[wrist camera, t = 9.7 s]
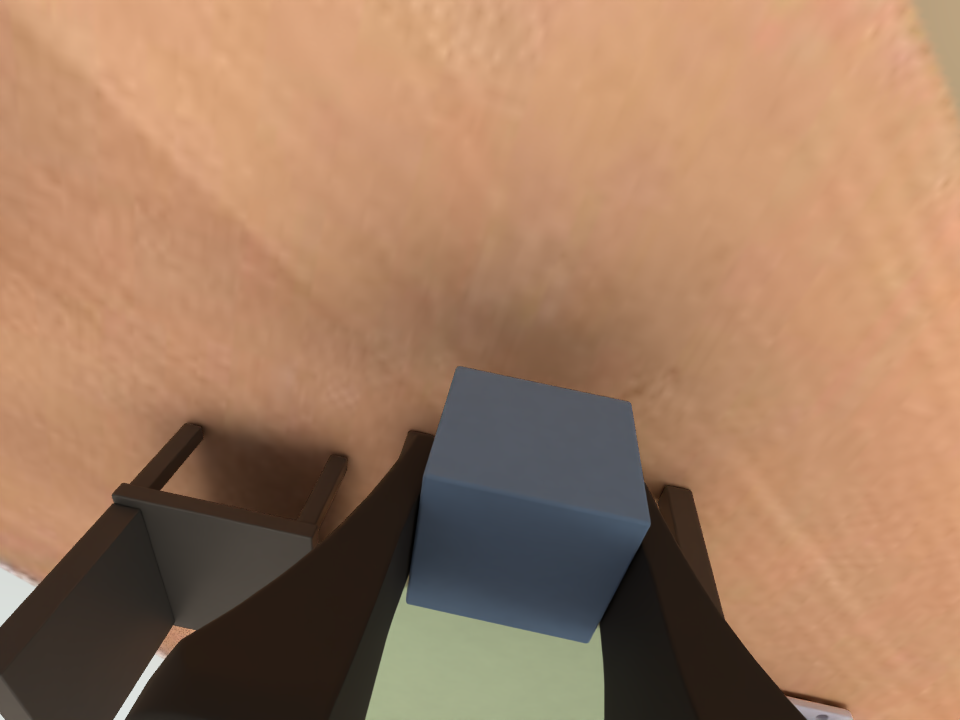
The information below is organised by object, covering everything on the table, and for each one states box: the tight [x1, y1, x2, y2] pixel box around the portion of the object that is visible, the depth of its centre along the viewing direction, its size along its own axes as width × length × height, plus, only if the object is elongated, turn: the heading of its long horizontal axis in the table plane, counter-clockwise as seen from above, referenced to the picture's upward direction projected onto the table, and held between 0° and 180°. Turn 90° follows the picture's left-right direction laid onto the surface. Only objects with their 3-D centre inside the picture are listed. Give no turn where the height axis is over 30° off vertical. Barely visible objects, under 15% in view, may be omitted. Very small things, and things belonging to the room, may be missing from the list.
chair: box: [0, 423, 347, 720], centre depth 20 cm, size 7×8×10 cm
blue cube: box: [406, 366, 651, 643], centre depth 13 cm, size 4×4×4 cm
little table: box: [365, 431, 725, 720], centre depth 21 cm, size 11×12×6 cm
